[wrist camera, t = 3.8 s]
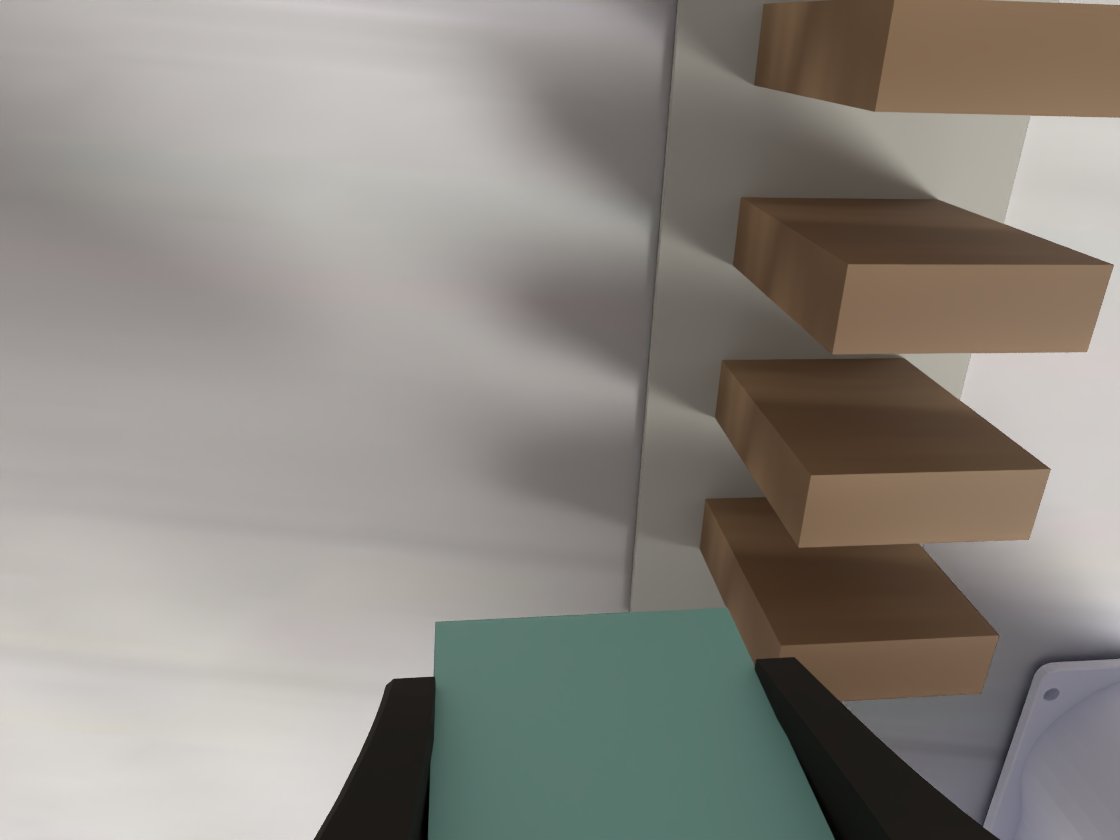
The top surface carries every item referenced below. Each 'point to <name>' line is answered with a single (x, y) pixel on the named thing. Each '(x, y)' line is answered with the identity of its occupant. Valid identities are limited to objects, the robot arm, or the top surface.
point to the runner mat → (734, 301)
